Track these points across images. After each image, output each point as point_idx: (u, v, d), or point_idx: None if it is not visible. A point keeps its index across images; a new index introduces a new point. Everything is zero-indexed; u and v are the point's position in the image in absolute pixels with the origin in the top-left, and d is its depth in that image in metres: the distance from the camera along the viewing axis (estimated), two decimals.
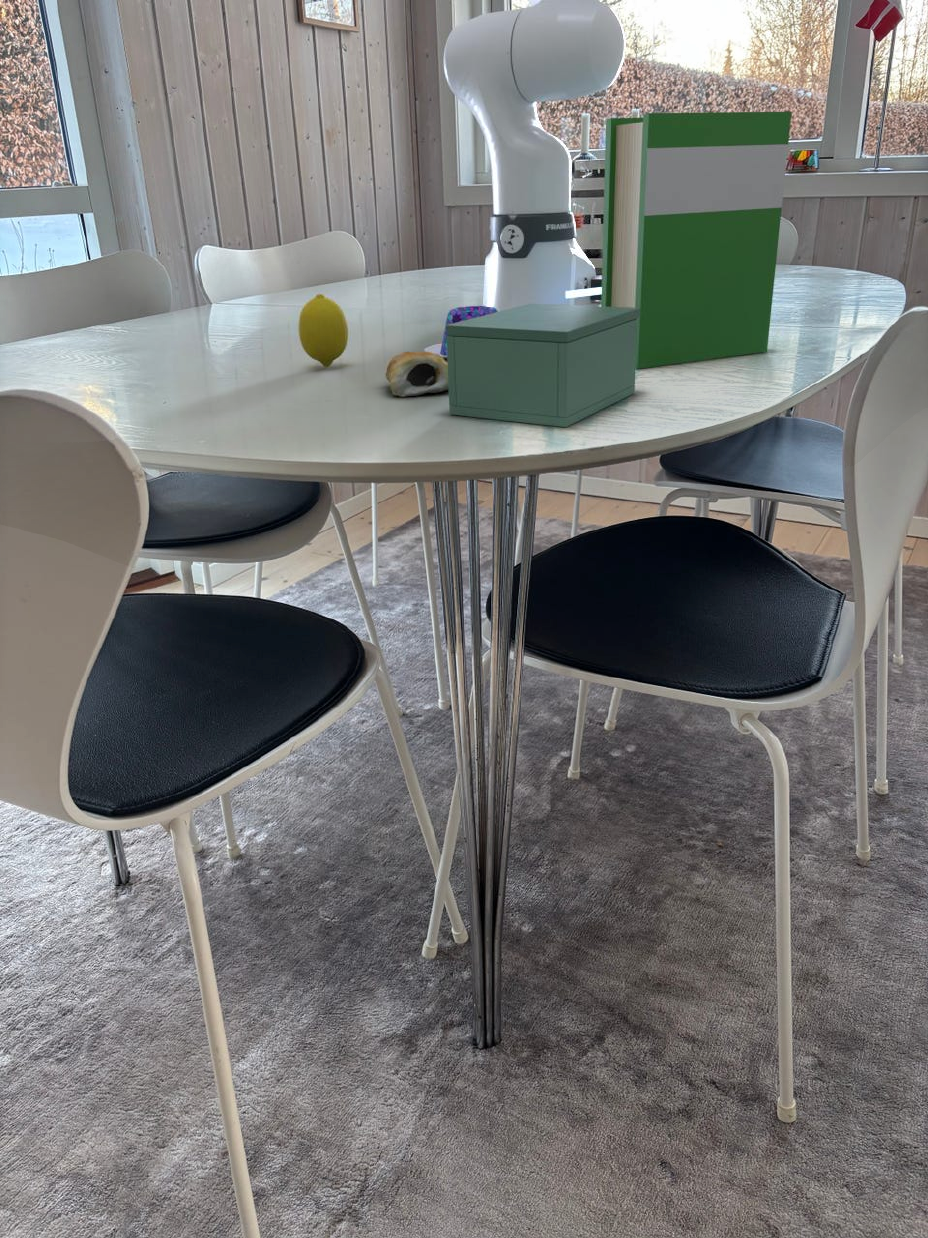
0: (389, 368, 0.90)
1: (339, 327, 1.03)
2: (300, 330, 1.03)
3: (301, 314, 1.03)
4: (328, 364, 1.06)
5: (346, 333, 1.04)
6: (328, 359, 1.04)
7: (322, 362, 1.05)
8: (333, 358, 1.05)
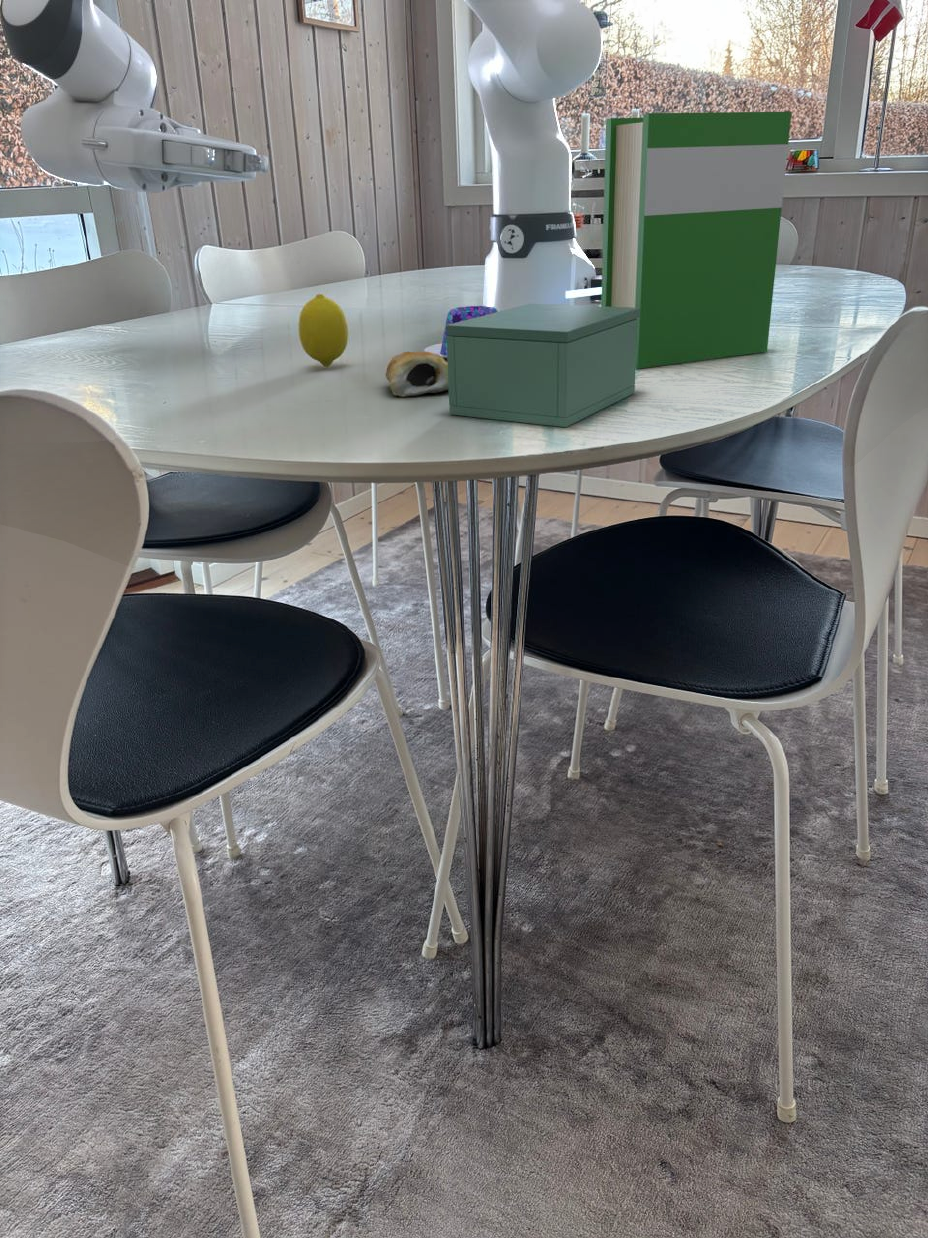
0: (389, 368, 0.90)
1: (339, 327, 1.03)
2: (300, 330, 1.03)
3: (301, 314, 1.03)
4: (328, 364, 1.06)
5: (346, 333, 1.04)
6: (328, 359, 1.04)
7: (322, 362, 1.05)
8: (333, 358, 1.05)
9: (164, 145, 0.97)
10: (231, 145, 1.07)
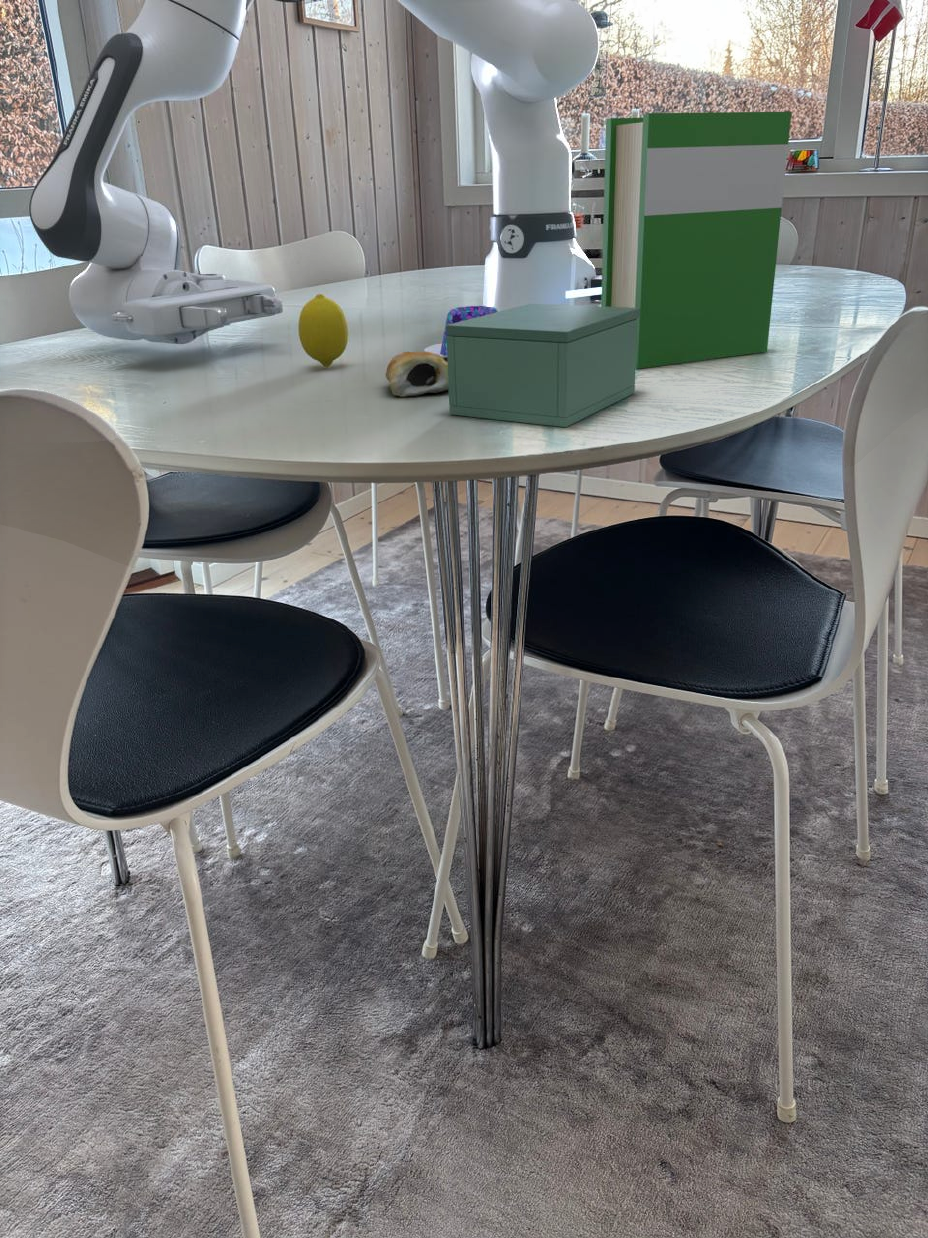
0: (389, 368, 0.90)
1: (339, 327, 1.03)
2: (300, 330, 1.03)
3: (301, 314, 1.03)
4: (328, 364, 1.06)
5: (346, 333, 1.04)
6: (328, 359, 1.04)
7: (322, 362, 1.05)
8: (333, 358, 1.05)
9: (181, 311, 1.06)
10: (248, 291, 1.14)
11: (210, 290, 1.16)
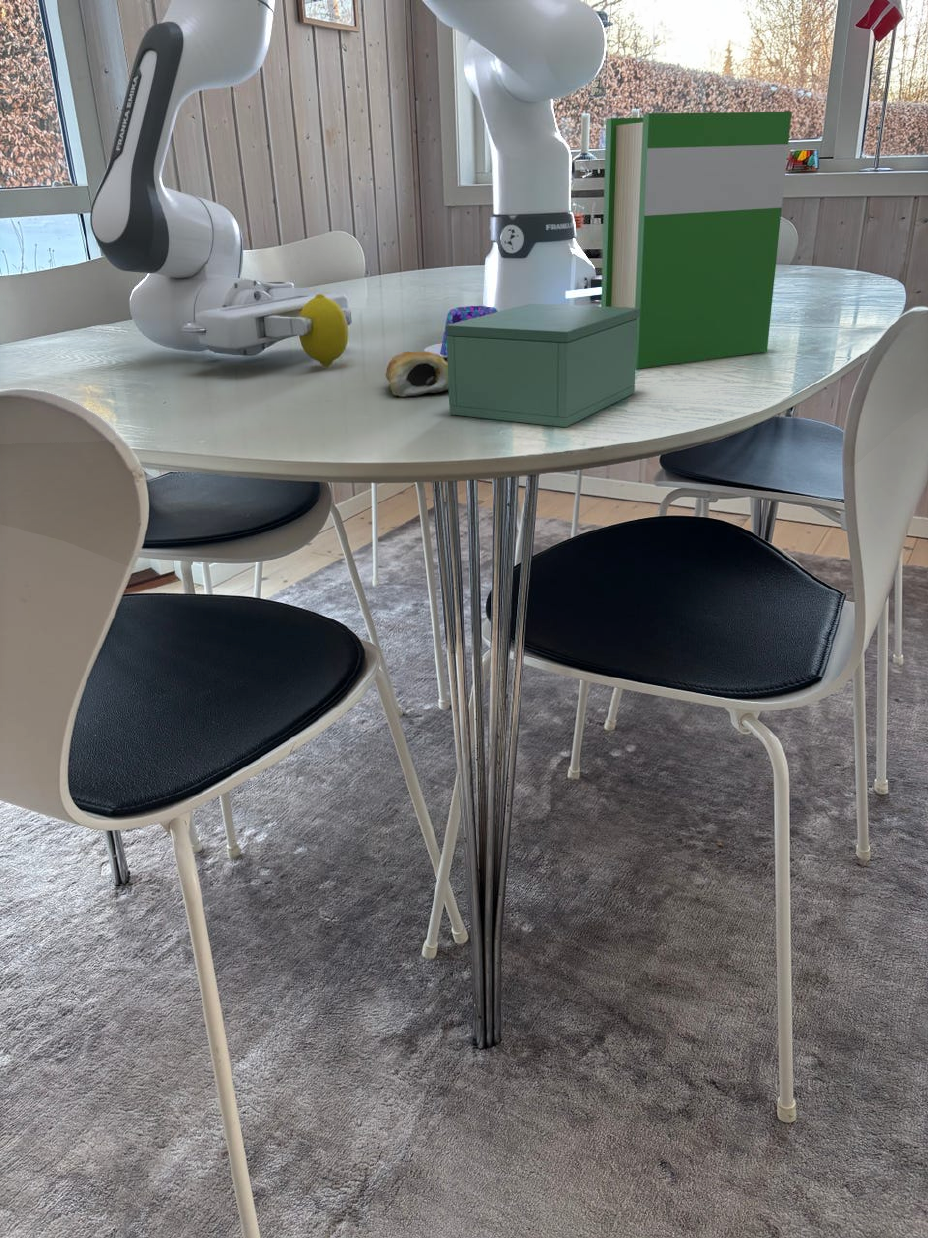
0: (389, 368, 0.90)
1: (339, 327, 1.03)
2: None
3: (301, 314, 1.03)
4: (328, 364, 1.06)
5: (346, 333, 1.04)
6: (328, 359, 1.04)
7: (322, 362, 1.05)
8: (333, 358, 1.05)
9: (266, 321, 1.01)
10: None
11: (281, 299, 1.10)
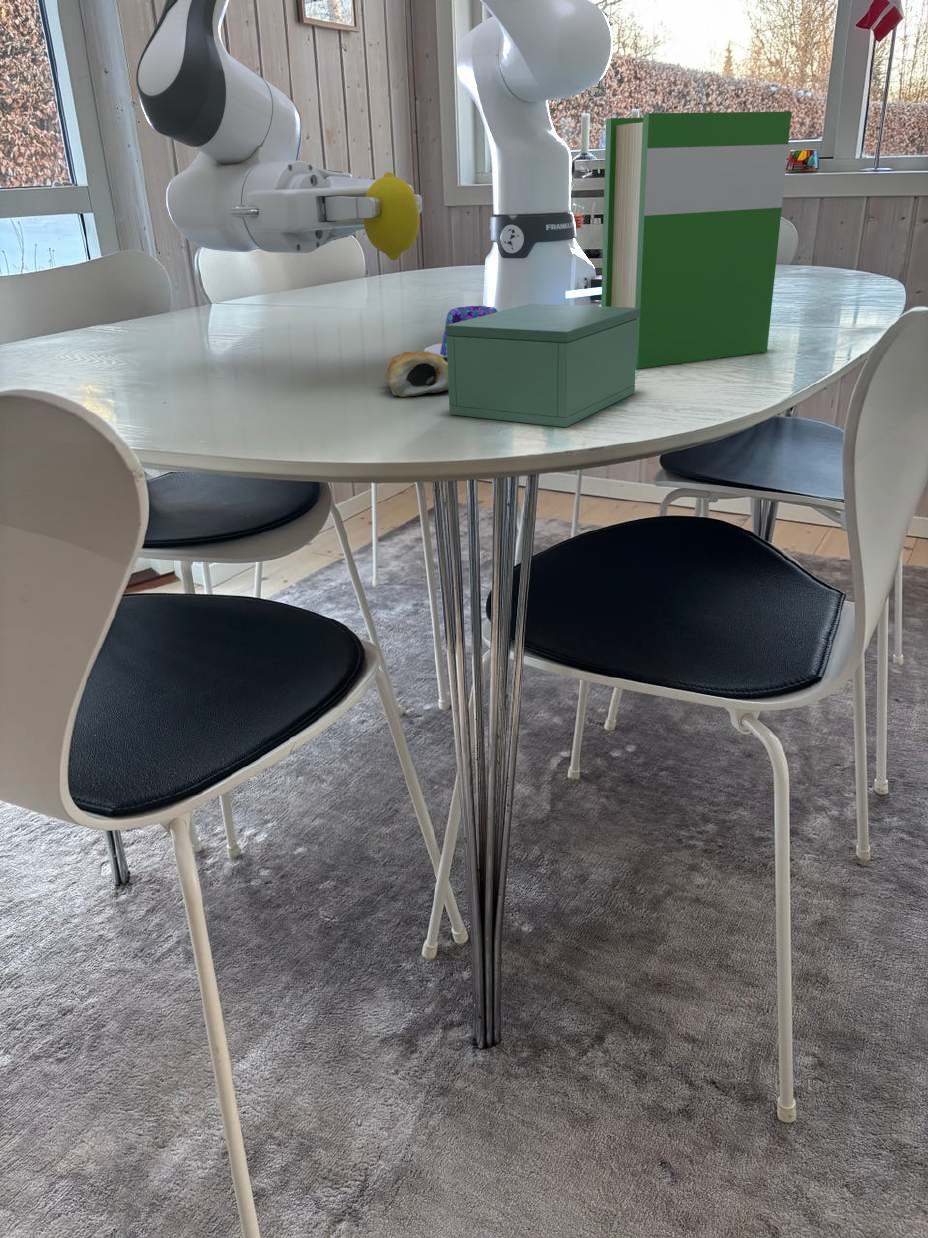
0: (389, 368, 0.90)
1: (411, 211, 0.89)
2: None
3: (367, 195, 0.89)
4: (396, 257, 0.92)
5: (418, 219, 0.90)
6: (397, 250, 0.91)
7: (389, 254, 0.92)
8: (402, 249, 0.91)
9: (327, 202, 0.88)
10: None
11: None
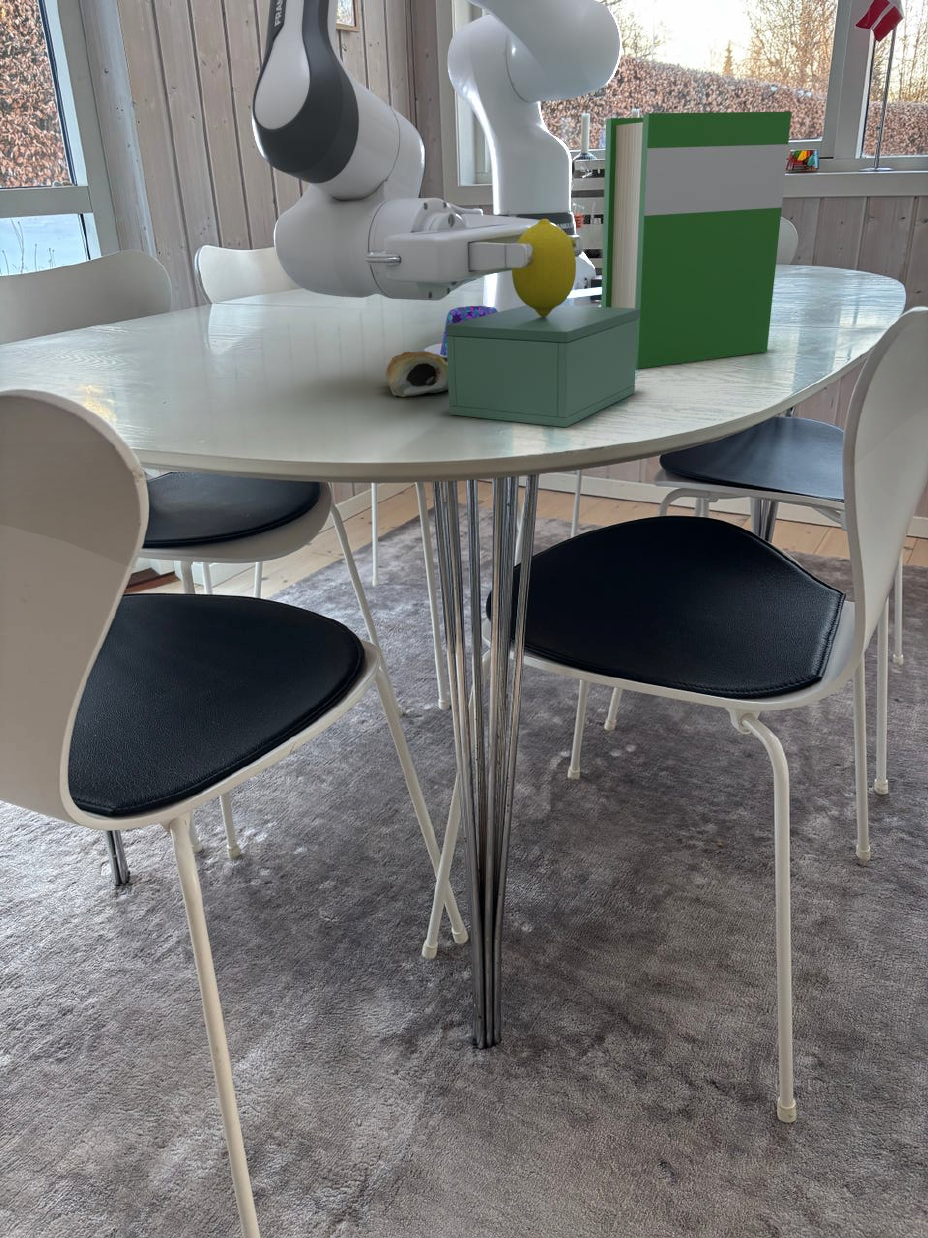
0: (389, 368, 0.90)
1: (570, 263, 0.78)
2: None
3: None
4: (547, 313, 0.81)
5: (575, 271, 0.79)
6: (550, 306, 0.80)
7: (540, 310, 0.81)
8: (556, 304, 0.80)
9: (470, 249, 0.76)
10: None
11: (475, 227, 0.86)
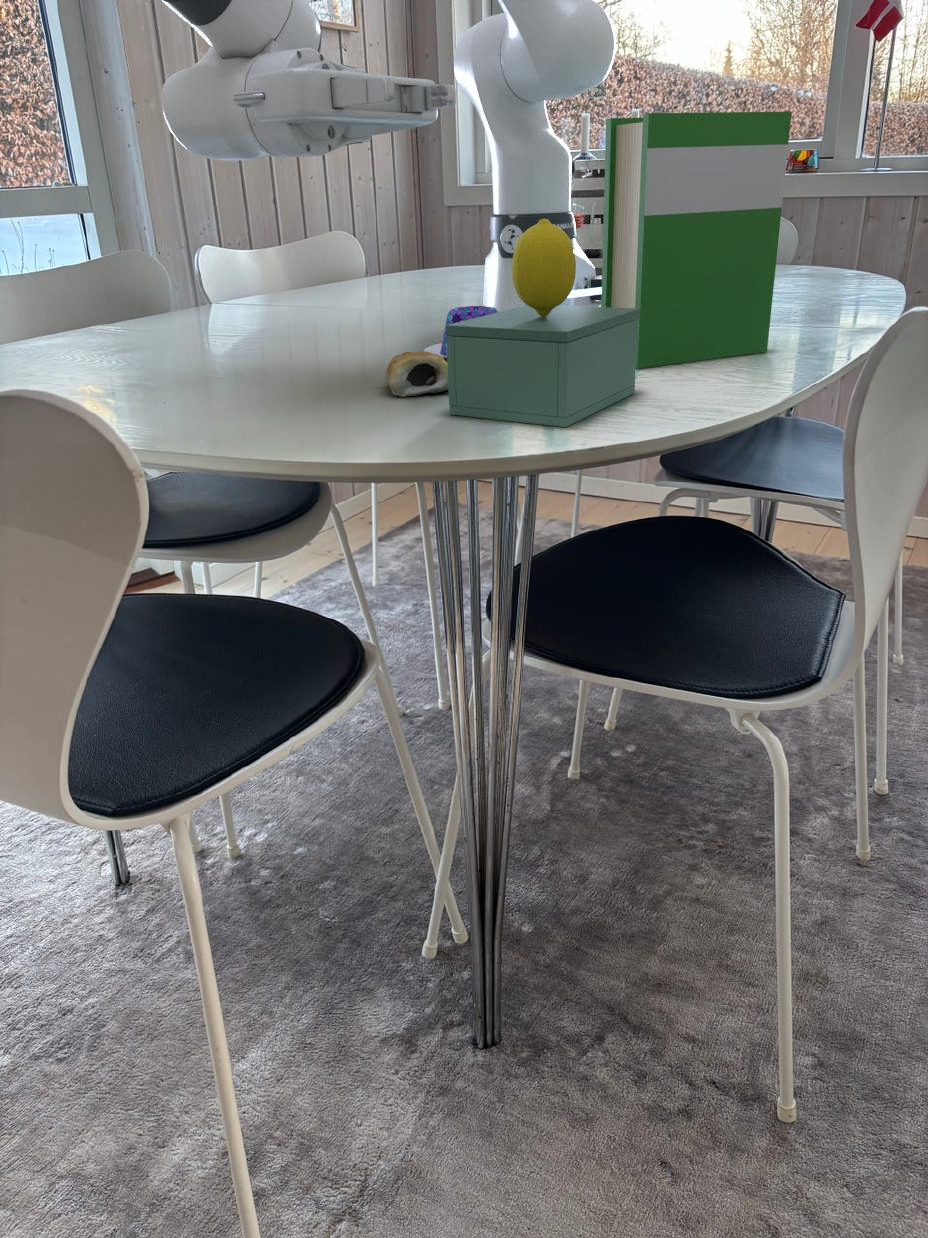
0: (389, 368, 0.90)
1: (570, 263, 0.78)
2: (517, 267, 0.78)
3: (520, 245, 0.78)
4: (547, 313, 0.81)
5: (575, 271, 0.79)
6: (550, 306, 0.80)
7: (540, 310, 0.81)
8: (556, 304, 0.80)
9: (333, 85, 0.77)
10: (408, 79, 0.85)
11: None
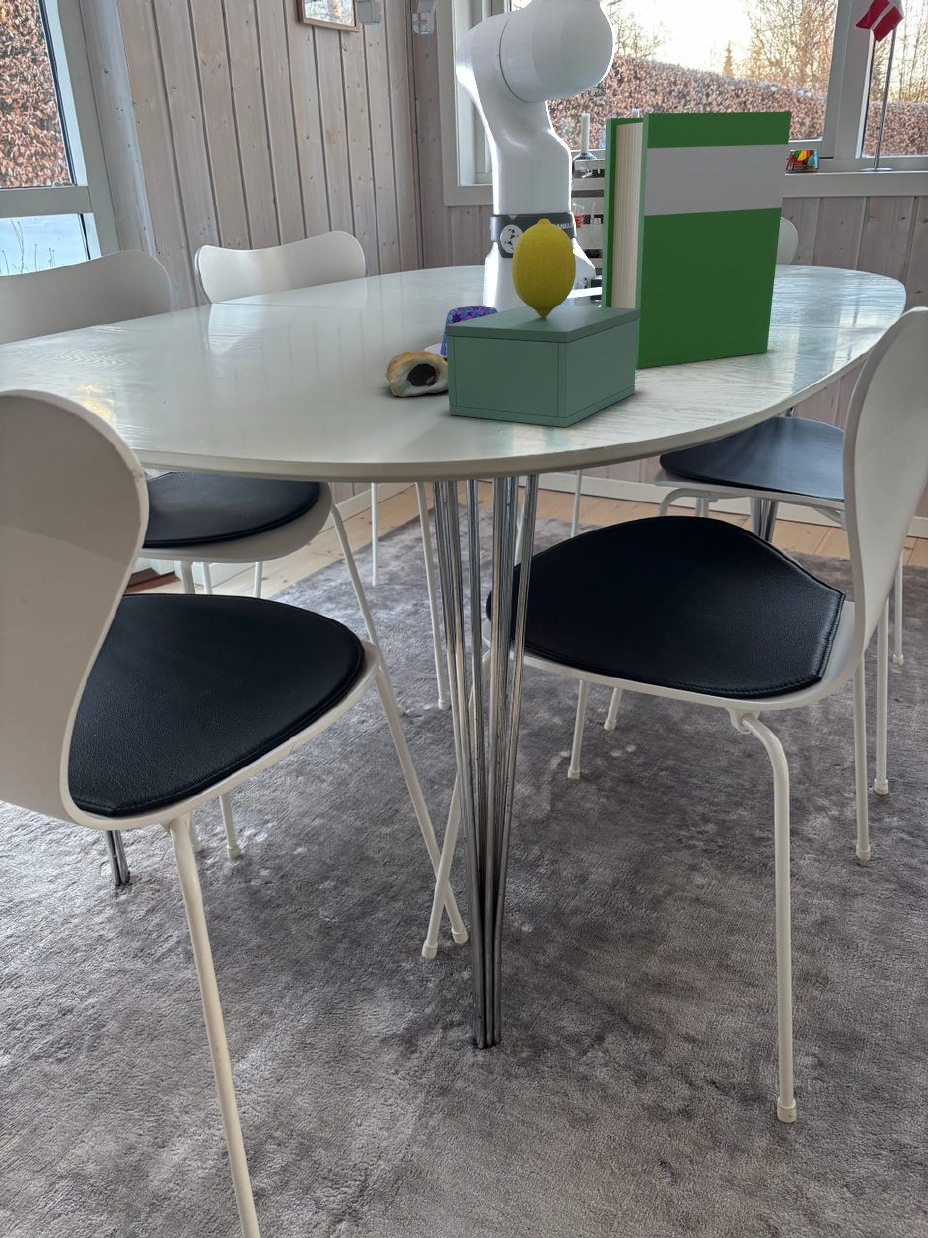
0: (389, 368, 0.90)
1: (570, 263, 0.78)
2: (517, 267, 0.78)
3: (520, 245, 0.78)
4: (547, 313, 0.81)
5: (575, 271, 0.79)
6: (550, 306, 0.80)
7: (540, 310, 0.81)
8: (556, 304, 0.80)
9: None
10: None
11: None
